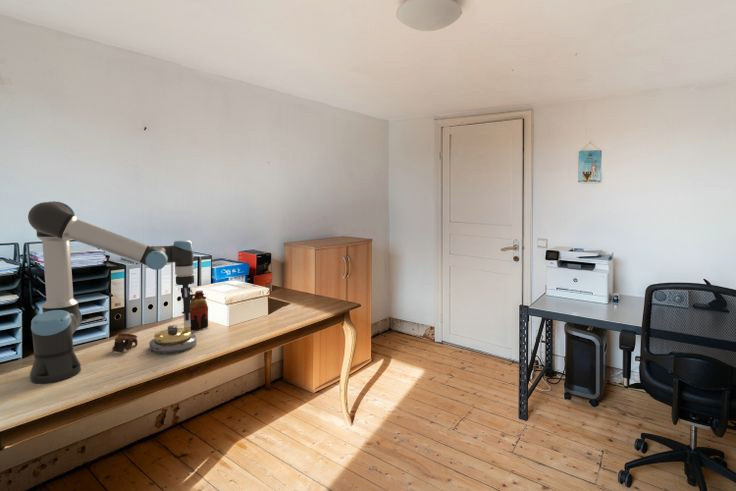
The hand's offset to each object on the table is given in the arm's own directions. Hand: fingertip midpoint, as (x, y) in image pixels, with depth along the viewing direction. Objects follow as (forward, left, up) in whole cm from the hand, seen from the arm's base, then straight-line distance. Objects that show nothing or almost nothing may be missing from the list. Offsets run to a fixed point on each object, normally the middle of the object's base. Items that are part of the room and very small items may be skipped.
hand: (187, 326), depth 183 cm
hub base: (-5, +4, -9) cm, 11 cm away
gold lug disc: (-5, +4, -5) cm, 8 cm away
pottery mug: (-20, +16, -9) cm, 27 cm away
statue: (+14, +20, -9) cm, 26 cm away
